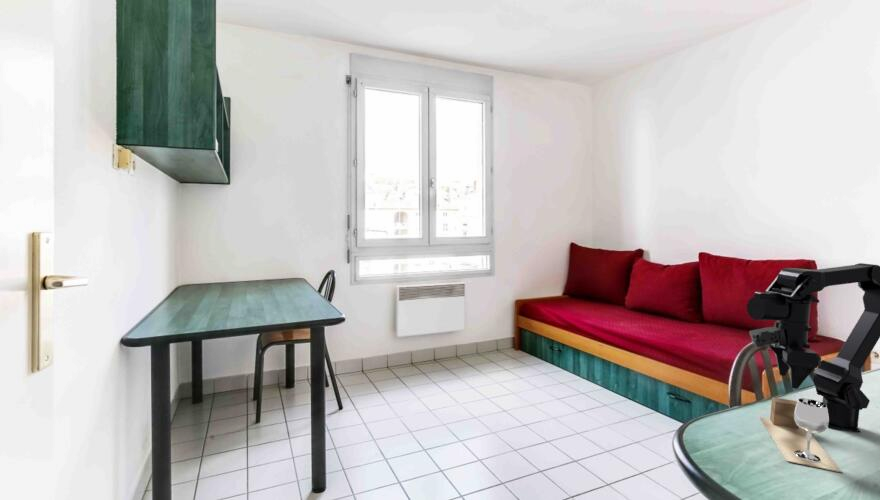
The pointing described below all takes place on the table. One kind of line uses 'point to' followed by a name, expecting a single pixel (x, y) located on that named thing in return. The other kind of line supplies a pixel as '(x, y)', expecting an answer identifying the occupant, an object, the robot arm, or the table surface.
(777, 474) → the table surface
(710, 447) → the table surface
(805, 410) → the wineglass
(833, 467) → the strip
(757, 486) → the table surface
